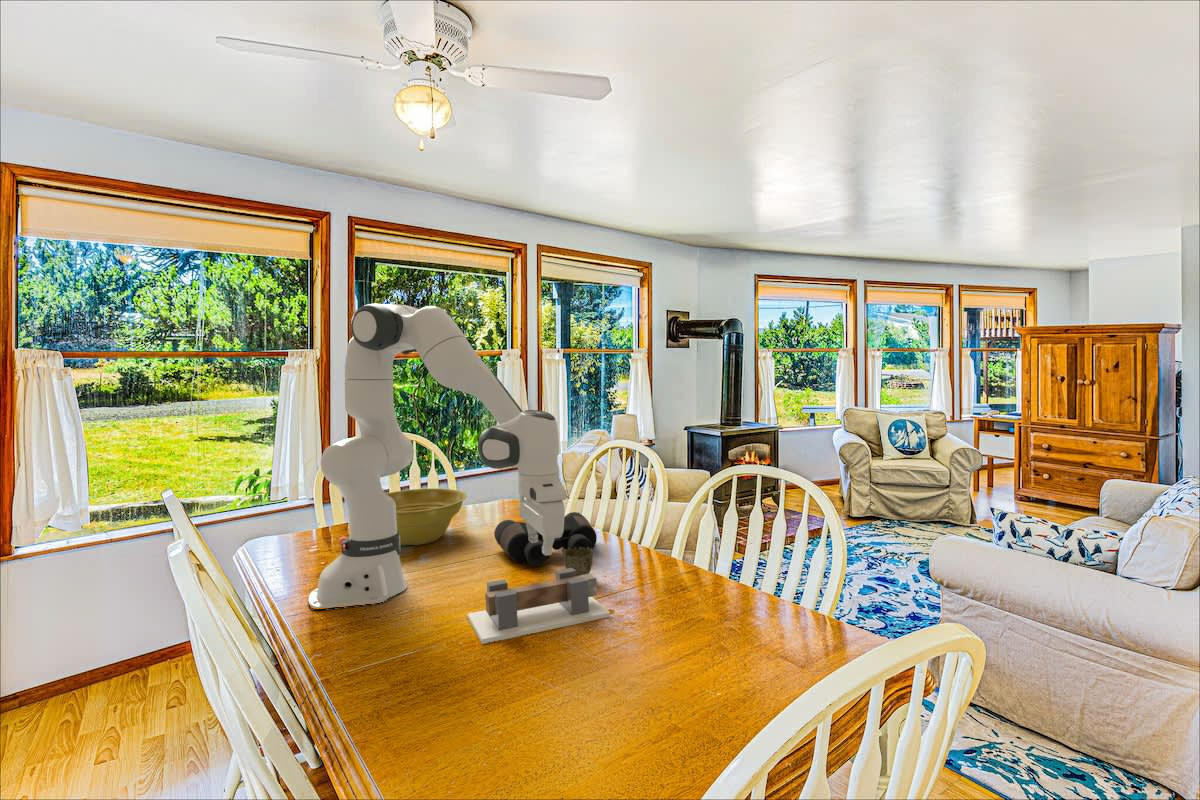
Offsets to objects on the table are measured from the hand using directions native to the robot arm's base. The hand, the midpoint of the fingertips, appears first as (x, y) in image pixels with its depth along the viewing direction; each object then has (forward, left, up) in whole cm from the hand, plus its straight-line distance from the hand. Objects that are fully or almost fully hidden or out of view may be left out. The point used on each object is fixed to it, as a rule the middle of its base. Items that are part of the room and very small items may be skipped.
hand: (539, 548), depth 133 cm
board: (-1, 0, -15) cm, 15 cm away
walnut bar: (0, 0, -12) cm, 12 cm away
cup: (+15, +16, -15) cm, 27 cm away
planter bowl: (-17, +76, -15) cm, 79 cm away
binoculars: (+16, +40, -16) cm, 46 cm away
